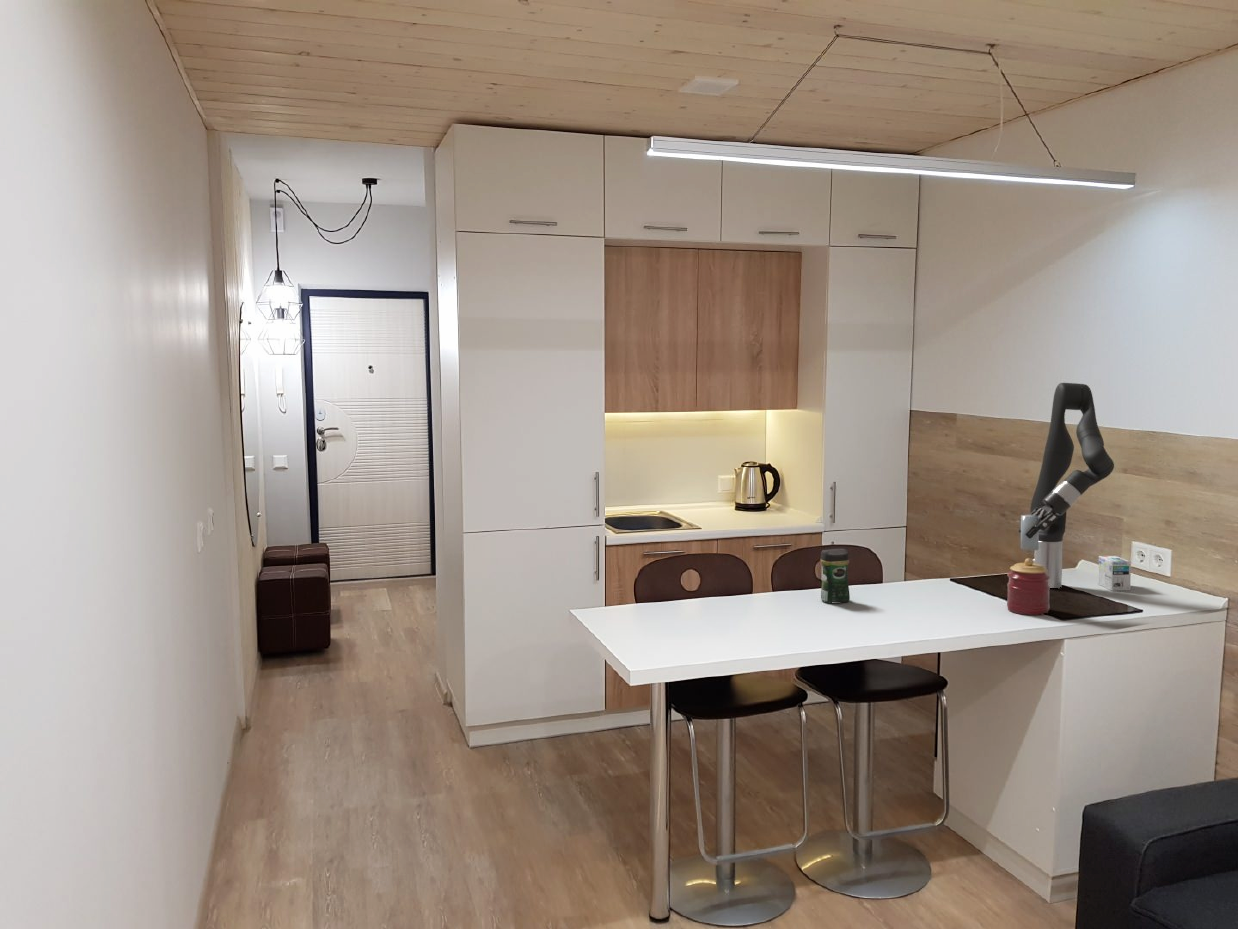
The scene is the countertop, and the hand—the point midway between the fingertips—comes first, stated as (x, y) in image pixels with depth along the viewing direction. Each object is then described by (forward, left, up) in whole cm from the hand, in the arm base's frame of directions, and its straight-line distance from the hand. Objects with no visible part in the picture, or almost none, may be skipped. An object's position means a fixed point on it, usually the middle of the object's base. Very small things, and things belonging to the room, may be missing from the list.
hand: (1024, 534), depth 306 cm
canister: (+1, +2, -26) cm, 26 cm away
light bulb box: (-9, +53, -26) cm, 59 cm away
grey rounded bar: (+1, +2, -5) cm, 5 cm away
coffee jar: (-39, -46, -26) cm, 66 cm away
